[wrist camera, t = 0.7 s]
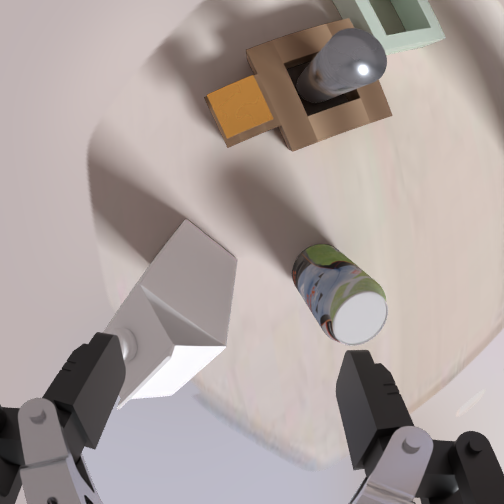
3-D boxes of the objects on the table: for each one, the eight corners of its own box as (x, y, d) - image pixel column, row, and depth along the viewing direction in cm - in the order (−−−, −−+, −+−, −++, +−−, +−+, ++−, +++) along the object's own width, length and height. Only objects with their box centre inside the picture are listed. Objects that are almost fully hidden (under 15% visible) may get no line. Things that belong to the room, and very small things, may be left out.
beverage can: (280, 258, 34) (291, 321, 23) (339, 224, 33) (378, 272, 22) (307, 301, 36) (326, 371, 25) (363, 269, 35) (403, 330, 24)
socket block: (338, 29, 25) (349, 18, 21) (377, 116, 28) (392, 115, 25) (200, 80, 27) (192, 73, 24) (241, 168, 31) (239, 173, 27)
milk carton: (238, 258, 34) (222, 389, 17) (199, 301, 36) (160, 434, 19) (186, 217, 33) (115, 317, 15) (150, 264, 35) (73, 379, 17)
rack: (392, -14, 22) (410, -30, 18) (423, 47, 25) (446, 38, 20) (330, -4, 24) (341, -22, 19) (363, 61, 26) (380, 50, 22)
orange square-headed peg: (253, 85, 25) (253, 74, 20) (270, 121, 26) (273, 118, 21) (216, 101, 26) (206, 94, 20) (232, 137, 27) (226, 138, 22)
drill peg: (323, 64, 27) (371, 22, 14) (338, 96, 28) (395, 76, 15) (290, 75, 27) (317, 36, 14) (305, 108, 28) (343, 92, 15)
